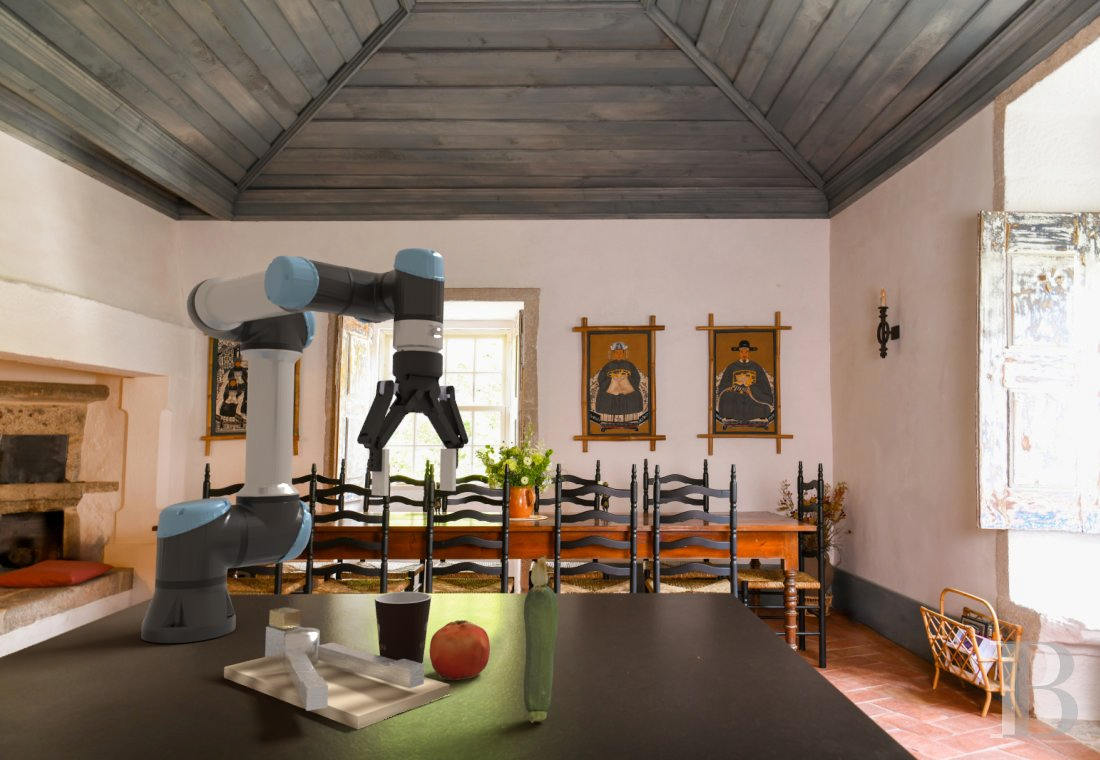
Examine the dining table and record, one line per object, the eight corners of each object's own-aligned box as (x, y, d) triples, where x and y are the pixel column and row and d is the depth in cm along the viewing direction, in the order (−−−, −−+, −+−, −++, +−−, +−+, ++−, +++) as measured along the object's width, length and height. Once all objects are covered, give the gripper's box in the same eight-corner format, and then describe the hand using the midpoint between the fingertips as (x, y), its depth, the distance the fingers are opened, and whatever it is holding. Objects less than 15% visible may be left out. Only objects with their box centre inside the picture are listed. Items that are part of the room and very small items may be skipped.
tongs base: (259, 658, 111) (260, 627, 112) (291, 650, 115) (291, 621, 116) (391, 702, 92) (392, 665, 93) (423, 691, 97) (424, 656, 97)
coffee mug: (417, 674, 109) (419, 604, 110) (363, 670, 111) (365, 602, 111) (444, 652, 120) (445, 589, 121) (394, 649, 122) (396, 587, 123)
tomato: (440, 690, 102) (441, 631, 102) (419, 672, 110) (421, 617, 111) (502, 680, 106) (502, 623, 107) (477, 663, 114) (478, 610, 115)
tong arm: (284, 665, 105) (284, 646, 105) (302, 662, 106) (302, 644, 106) (306, 710, 87) (307, 688, 87) (327, 707, 88) (328, 686, 88)
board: (223, 677, 107) (224, 666, 107) (314, 654, 119) (314, 645, 119) (357, 729, 88) (358, 716, 88) (449, 695, 99) (449, 684, 100)
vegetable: (522, 713, 93) (523, 552, 95) (556, 713, 93) (557, 552, 95) (524, 727, 89) (525, 557, 90) (560, 726, 89) (560, 557, 91)
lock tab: (269, 624, 112) (269, 610, 112) (285, 621, 114) (286, 606, 115) (284, 628, 110) (284, 613, 110) (300, 625, 112) (301, 610, 112)
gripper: (369, 340, 100) (365, 498, 98) (491, 357, 120) (489, 489, 118) (334, 344, 105) (330, 496, 103) (457, 360, 124) (455, 487, 123)
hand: (415, 493), depth 110 cm, fingers open, 13 cm apart
